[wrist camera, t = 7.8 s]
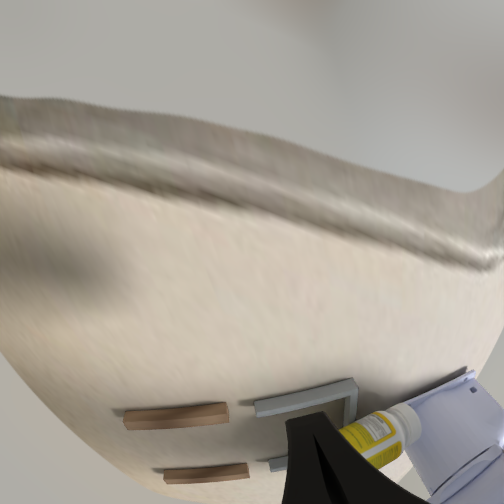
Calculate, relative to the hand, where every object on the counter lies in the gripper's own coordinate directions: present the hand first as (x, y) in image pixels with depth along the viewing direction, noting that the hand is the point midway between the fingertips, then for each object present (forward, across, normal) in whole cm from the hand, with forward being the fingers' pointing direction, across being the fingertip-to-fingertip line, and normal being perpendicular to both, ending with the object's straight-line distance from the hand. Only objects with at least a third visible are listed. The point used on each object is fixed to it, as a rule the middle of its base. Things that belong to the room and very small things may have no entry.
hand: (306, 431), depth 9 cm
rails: (+9, +8, +12) cm, 17 cm away
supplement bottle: (+5, -2, +12) cm, 13 cm away
